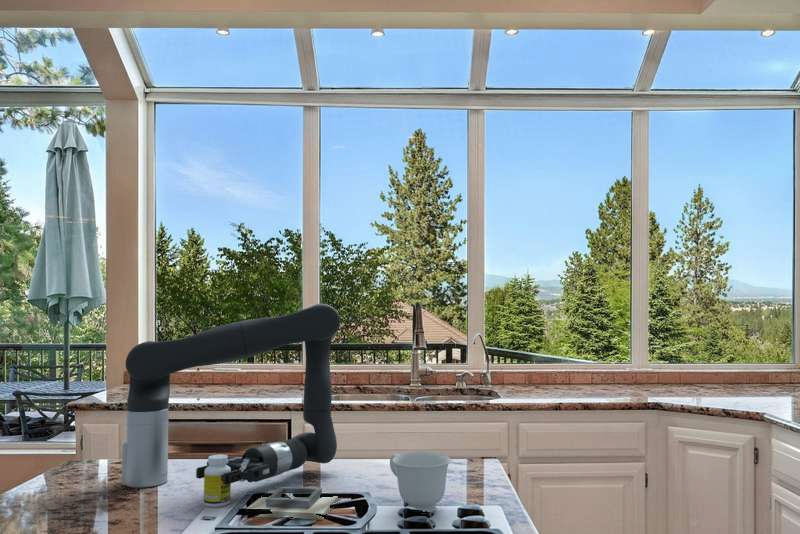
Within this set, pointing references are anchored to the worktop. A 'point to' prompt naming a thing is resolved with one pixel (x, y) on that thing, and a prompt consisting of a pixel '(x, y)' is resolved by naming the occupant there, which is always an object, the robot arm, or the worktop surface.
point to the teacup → (421, 478)
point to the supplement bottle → (216, 482)
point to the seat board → (296, 503)
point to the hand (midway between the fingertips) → (210, 476)
